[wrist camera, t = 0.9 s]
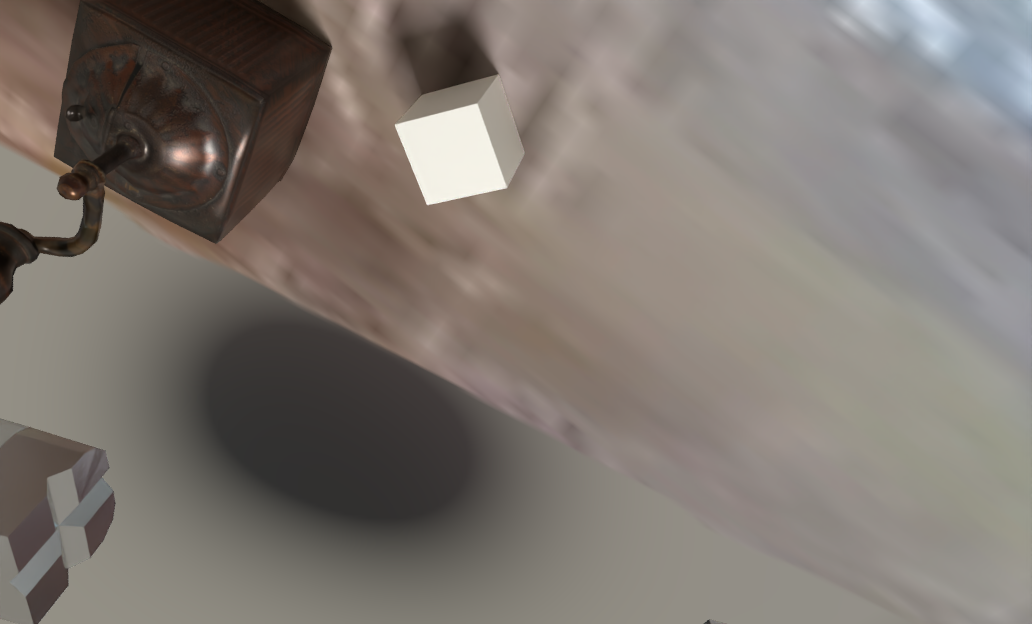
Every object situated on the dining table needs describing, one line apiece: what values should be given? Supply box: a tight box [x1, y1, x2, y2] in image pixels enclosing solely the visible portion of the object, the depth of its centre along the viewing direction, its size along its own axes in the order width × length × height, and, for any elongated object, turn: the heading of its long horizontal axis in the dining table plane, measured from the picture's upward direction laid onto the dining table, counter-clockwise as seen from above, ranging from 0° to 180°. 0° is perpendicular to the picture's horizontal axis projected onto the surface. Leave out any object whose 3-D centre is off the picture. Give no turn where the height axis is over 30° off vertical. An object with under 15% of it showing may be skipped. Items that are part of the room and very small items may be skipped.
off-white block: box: [395, 74, 525, 205], centre depth 48 cm, size 5×5×5 cm
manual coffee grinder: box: [0, 0, 332, 304], centre depth 45 cm, size 16×11×18 cm
